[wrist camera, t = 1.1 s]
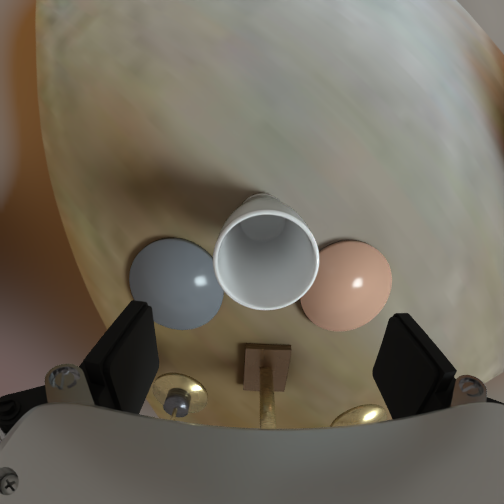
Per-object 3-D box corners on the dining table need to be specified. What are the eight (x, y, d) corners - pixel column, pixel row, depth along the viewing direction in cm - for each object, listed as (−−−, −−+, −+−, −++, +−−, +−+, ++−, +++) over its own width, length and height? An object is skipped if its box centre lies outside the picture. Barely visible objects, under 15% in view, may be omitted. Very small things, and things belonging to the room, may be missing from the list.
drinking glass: (221, 202, 31) (191, 238, 17) (277, 175, 30) (295, 189, 16) (248, 255, 33) (241, 326, 19) (302, 230, 32) (335, 286, 18)
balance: (164, 335, 37) (116, 438, 20) (367, 344, 37) (415, 442, 20) (169, 377, 39) (136, 474, 22) (353, 384, 39) (386, 477, 22)
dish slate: (128, 235, 33) (125, 237, 32) (225, 240, 33) (224, 242, 32) (137, 320, 36) (135, 324, 35) (223, 329, 36) (222, 333, 35)
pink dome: (305, 236, 32) (306, 239, 31) (396, 243, 32) (400, 246, 31) (293, 326, 36) (294, 330, 35) (377, 326, 36) (379, 330, 35)
